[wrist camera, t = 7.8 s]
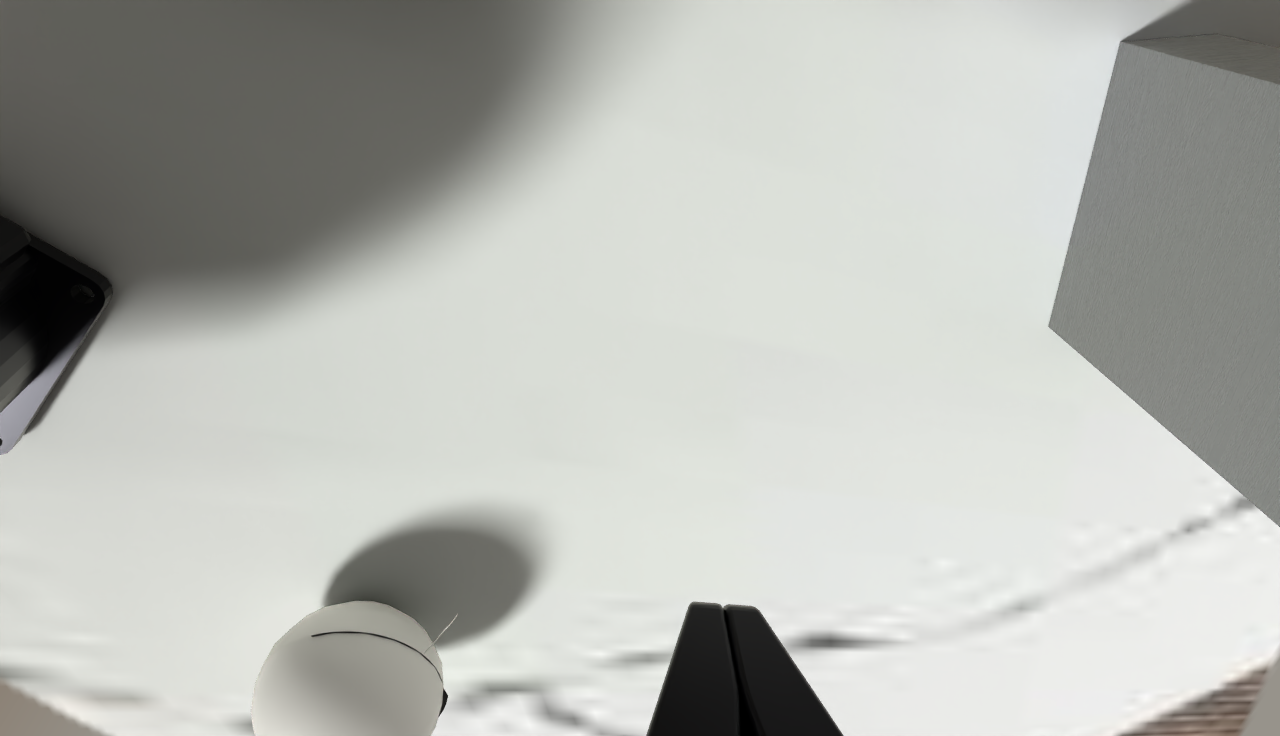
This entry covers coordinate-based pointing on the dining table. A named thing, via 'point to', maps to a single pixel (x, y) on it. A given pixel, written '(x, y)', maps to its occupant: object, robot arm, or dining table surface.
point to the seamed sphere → (350, 676)
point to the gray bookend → (1187, 250)
